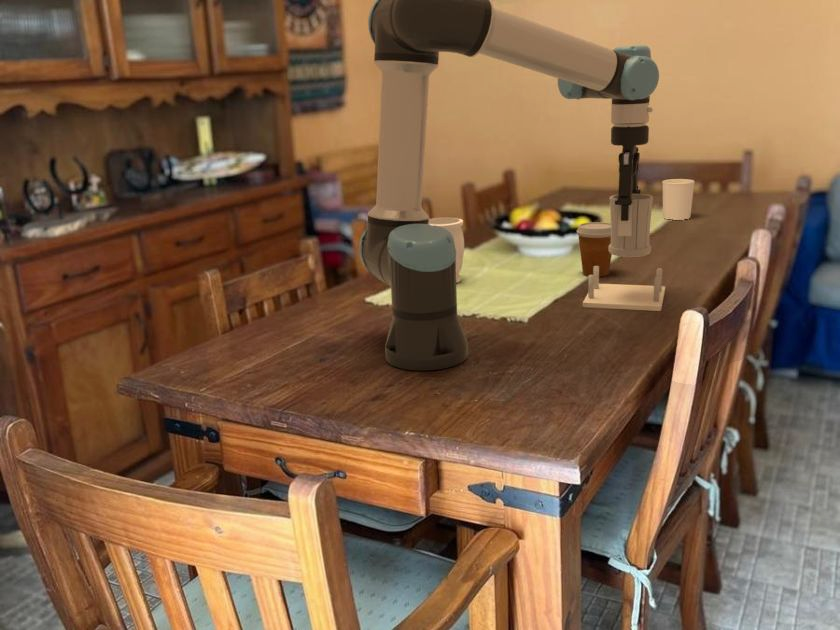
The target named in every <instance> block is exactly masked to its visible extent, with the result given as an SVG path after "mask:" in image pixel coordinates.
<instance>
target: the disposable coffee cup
mask: <svg viewBox="0 0 840 630" xmlns="http://www.w3.org/2000/svg"><path fill="white" fill-rule="evenodd" d="M576 233H577V237H578V242H579V243H578V245H579V253H580V260H581V261H580V262H581V269H582V274H583V275H584V276H587V277H589V275H593V271H594V266H599V278H601V277H606V276H609V273H610V267H611V262H612V261H611V260H612V254H611V253H610V252H609V245H610V244H611V222H606V221H605V222H604V221H602V222H601V221H600V222H599V221H596V222H595V221H593V222H584V223H580V224H578V227H577V229H576Z"/></svg>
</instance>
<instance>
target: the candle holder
mask: <svg viewBox="0 0 840 630" xmlns="http://www.w3.org/2000/svg"><path fill="white" fill-rule="evenodd" d="M661 182H662V183H661V184H662V218H663V217H665V218H669V219H673V220H683V221H685V220H684V219H688V220H690V219H691V215H692V206H693V198H694V188H695V180H694V179H687V178H685V179H684V178H672V179H664V180H662V181H661ZM689 218H690V219H689Z"/></svg>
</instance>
